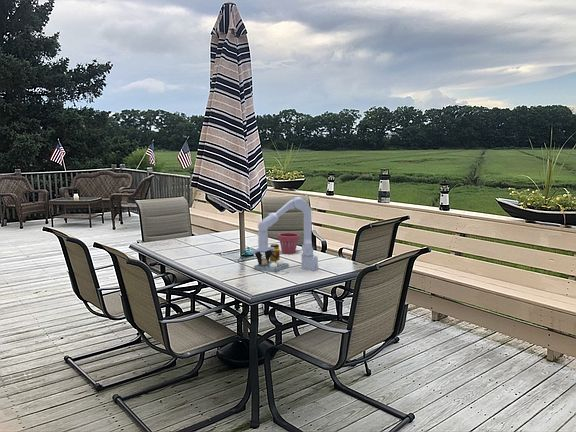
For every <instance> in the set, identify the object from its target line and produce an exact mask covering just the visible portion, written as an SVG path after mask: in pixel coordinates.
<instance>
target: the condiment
mask: <svg viewBox="0 0 576 432" xmlns="http://www.w3.org/2000/svg"><path fill="white" fill-rule="evenodd" d="M270 247H274V248H275V251H271V252H272V254H271V256H270V259H269V261H274V262H276V261H278V260H281V259H280V258H281V257H280V251H281V250H280V244H278V243H273V244H270Z"/></svg>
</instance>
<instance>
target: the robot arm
mask: <svg viewBox="0 0 576 432" xmlns="http://www.w3.org/2000/svg"><path fill="white" fill-rule="evenodd" d="M294 209H297V210H299V211H300V212H302V213H303V242H302V245H301V251H302V253H301V269H302V270H307V271H308V270H309V271H313V272H314V271H317V270H319V259H318V256H316V255H314V248H313V242H312V225H313V224H312V217H313V216H312V212H313V211H312V208H311V207H310V205H309V204H308V202H307V201H306V200H305V199H304V198H303V197H301V196H298V195H297V196H295V197H294V198H292V199H290V200H289V201H287V202H286V203H285V204H284V205H282V207H280V208H279V209H278V210H277V211H276V212H271V213H268V215H267V216H266V217H265V218H262V220H261V221H259V222H258V224H257V228H258V234H257V239H258V240H257V242H258V243H257V245H258V247H257V248H254V249H251V254H254V255H255V257H256V260H257V263H258V264H260V265H261V258H263V253H264V255H265V256H264V258H266V259H267V264H268V263H269V261H270V256H271V254H272V252H271V251H275V248H274V247H271V246H269V233H268V230H269V228H270V227H272V226H273V225H275V223H276V222H278V221H279V218H280V217H281V216H282V215H284V214H285V213H286V212H287V211H289V210H294ZM258 264H257V265H258Z"/></svg>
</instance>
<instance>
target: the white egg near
mask: <svg viewBox="0 0 576 432" xmlns="http://www.w3.org/2000/svg"><path fill="white" fill-rule="evenodd" d="M283 263H284V261H283V260H282V259H280V260H278V261H276V264H277V265H278V266H282V265H283Z"/></svg>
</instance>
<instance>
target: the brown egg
mask: <svg viewBox="0 0 576 432" xmlns="http://www.w3.org/2000/svg"><path fill="white" fill-rule="evenodd" d="M266 264H267V259H266V257H261V265H262V266H265V265H266Z"/></svg>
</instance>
